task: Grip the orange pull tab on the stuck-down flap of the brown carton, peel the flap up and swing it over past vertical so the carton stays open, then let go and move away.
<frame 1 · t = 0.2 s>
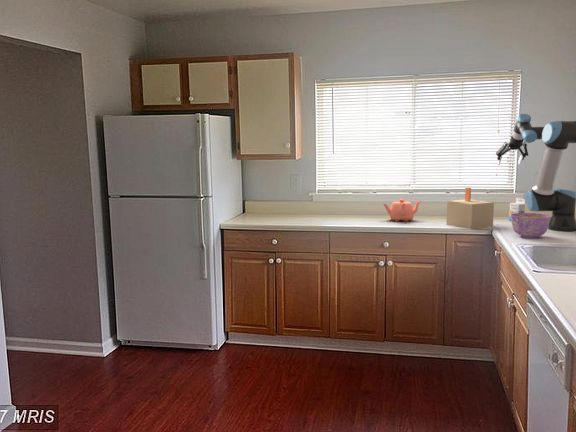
hand: (508, 163, 354), 36 cm above the countertop, tool tilted 35°, fingers open, 13 cm apart
ink box: (516, 221, 343), on the countertop
bowl of food: (529, 237, 289), on the countertop
flap: (464, 194, 331), point 18 cm above the countertop, hinge at 0.0°
teapot: (402, 220, 352), on the countertop
carton: (469, 225, 329), on the countertop
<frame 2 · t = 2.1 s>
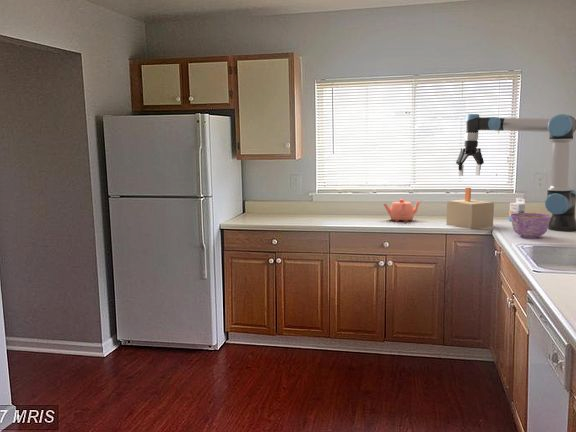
hand: (469, 175, 329), 30 cm above the countertop, tool pointing down, fingers open, 13 cm apart
nothing on the countertop moved.
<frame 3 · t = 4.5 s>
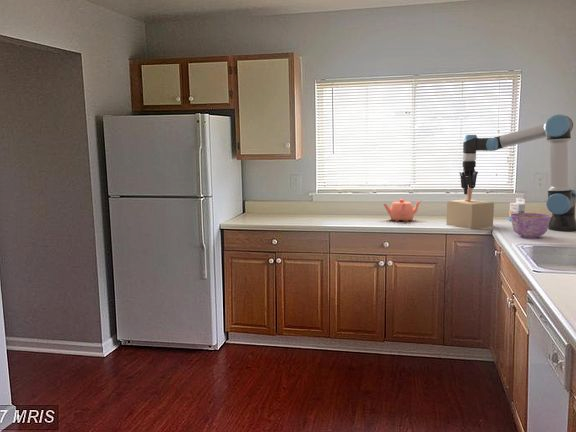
hand: (467, 199, 329), 16 cm above the countertop, tool pointing down, fingers closed on flap, 2 cm apart
flap: (464, 194, 331), point 18 cm above the countertop, hinge at 0.0°, touching gripper
everything else where it was.
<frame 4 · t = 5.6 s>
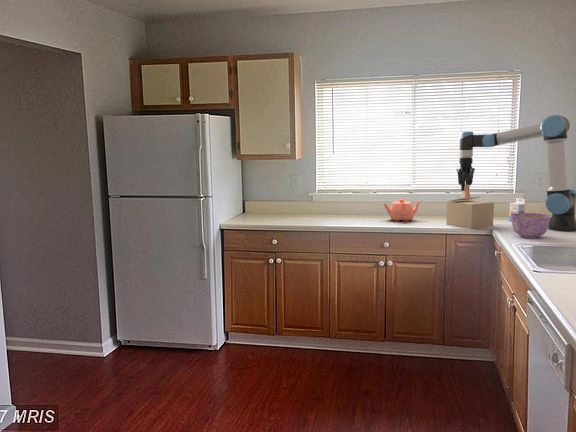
hand: (465, 196, 331), 18 cm above the countertop, tool pointing down, fingers closed on flap, 2 cm apart
flap: (462, 192, 332), point 19 cm above the countertop, hinge at 13.5°, touching gripper
everything else where it was.
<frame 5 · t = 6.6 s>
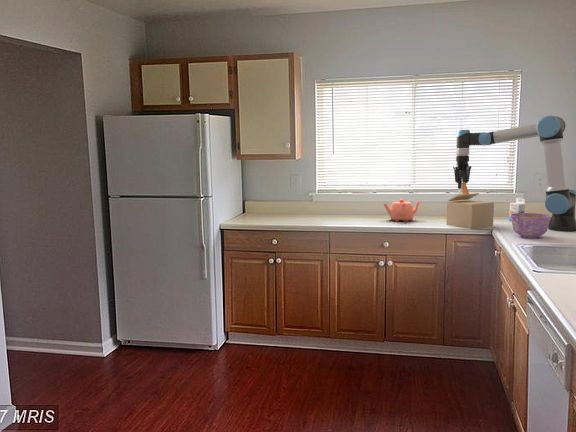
hand: (461, 193, 333), 19 cm above the countertop, tool pointing down, fingers closed on flap, 2 cm apart
flap: (461, 191, 333), point 20 cm above the countertop, hinge at 27.2°, touching gripper
everything else where it was.
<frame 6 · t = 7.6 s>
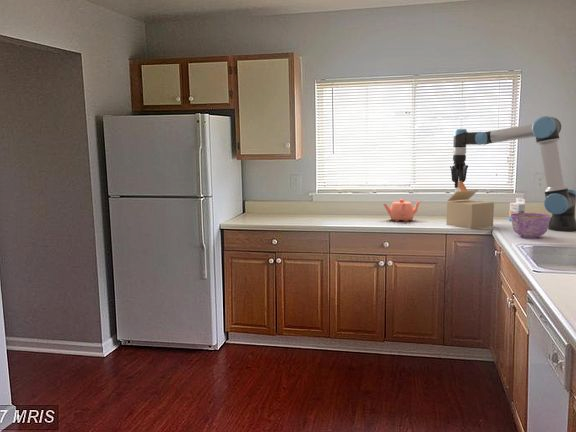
hand: (458, 192, 335), 19 cm above the countertop, tool pointing down, fingers closed on flap, 2 cm apart
flap: (459, 190, 334), point 21 cm above the countertop, hinge at 40.4°, touching gripper
everything else where it was.
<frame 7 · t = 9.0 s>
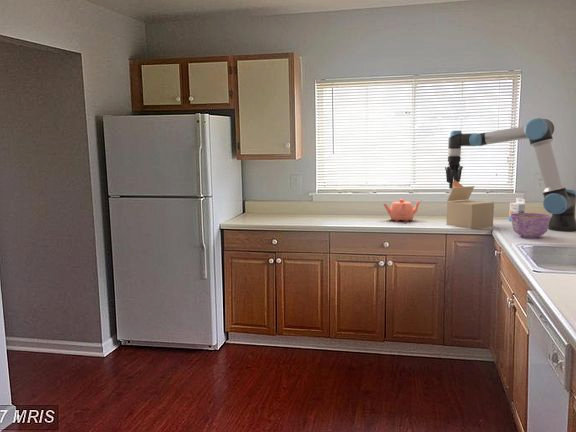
hand: (453, 193, 339), 18 cm above the countertop, tool pointing down, fingers closed on flap, 2 cm apart
flap: (456, 190, 336), point 21 cm above the countertop, hinge at 61.5°, touching gripper
everything else where it was.
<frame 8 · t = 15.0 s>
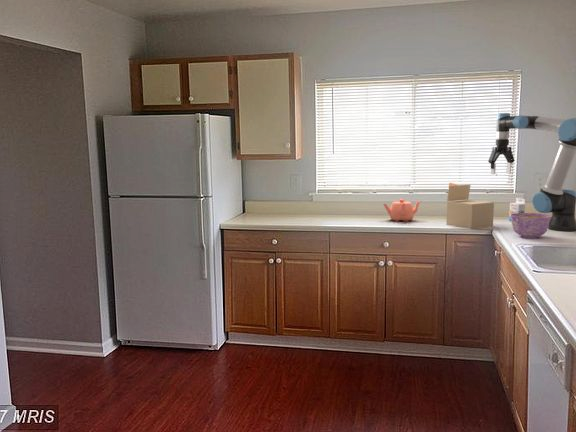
hand: (500, 173, 333), 31 cm above the countertop, tool pointing down, fingers open, 13 cm apart
flap: (454, 191, 338), point 20 cm above the countertop, hinge at 81.2°
everything else where it was.
at the end: flap at +81° (first picture: +0°); the gripper is holding nothing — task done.
